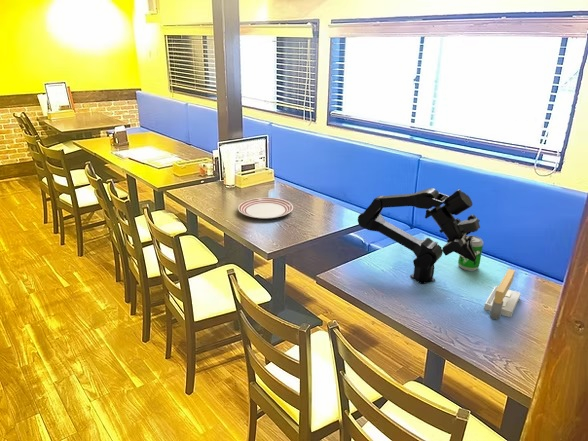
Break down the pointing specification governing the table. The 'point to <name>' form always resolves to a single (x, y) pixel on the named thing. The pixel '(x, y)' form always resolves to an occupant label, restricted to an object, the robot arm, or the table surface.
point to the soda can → (477, 247)
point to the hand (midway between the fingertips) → (475, 260)
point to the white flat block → (504, 302)
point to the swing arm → (501, 294)
